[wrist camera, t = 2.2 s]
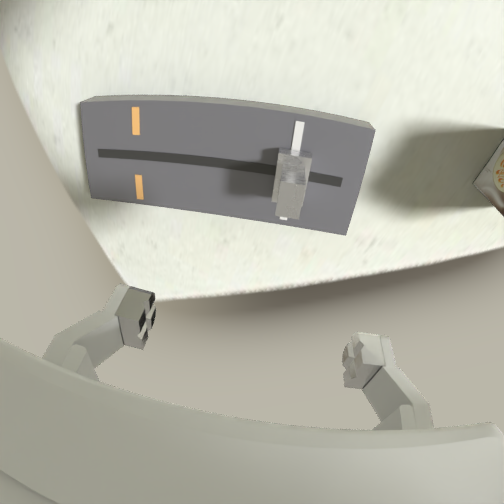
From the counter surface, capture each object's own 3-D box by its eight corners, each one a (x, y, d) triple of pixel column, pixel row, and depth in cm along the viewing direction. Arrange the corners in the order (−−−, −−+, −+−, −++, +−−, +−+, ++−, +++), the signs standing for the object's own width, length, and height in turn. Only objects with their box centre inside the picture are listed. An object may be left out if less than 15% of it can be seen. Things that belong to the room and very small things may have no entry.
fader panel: (368, 122, 28) (375, 130, 26) (342, 221, 36) (345, 236, 33) (95, 96, 30) (79, 102, 27) (103, 187, 37) (90, 198, 34)
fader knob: (311, 153, 28) (314, 176, 24) (302, 199, 31) (302, 229, 27) (279, 147, 28) (275, 169, 24) (272, 194, 31) (267, 223, 27)
